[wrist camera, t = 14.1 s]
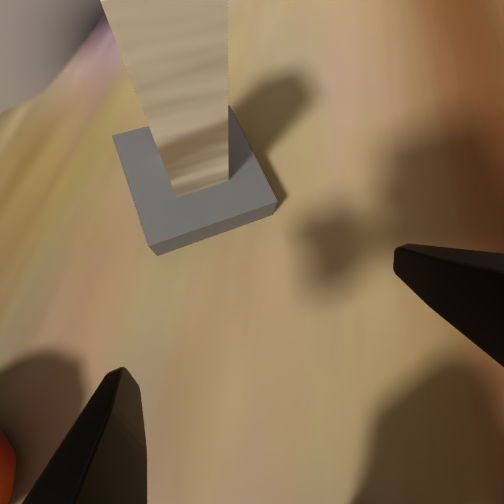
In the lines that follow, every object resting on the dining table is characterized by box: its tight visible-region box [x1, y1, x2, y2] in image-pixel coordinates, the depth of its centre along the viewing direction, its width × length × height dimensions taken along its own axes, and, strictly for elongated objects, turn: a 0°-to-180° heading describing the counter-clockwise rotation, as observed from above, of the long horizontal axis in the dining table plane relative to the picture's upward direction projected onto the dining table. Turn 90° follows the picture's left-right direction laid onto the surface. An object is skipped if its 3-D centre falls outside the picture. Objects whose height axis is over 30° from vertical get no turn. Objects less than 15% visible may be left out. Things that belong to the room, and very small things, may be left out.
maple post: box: [100, 0, 229, 197], centre depth 16 cm, size 5×5×13 cm
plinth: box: [112, 106, 278, 256], centre depth 23 cm, size 11×11×2 cm
